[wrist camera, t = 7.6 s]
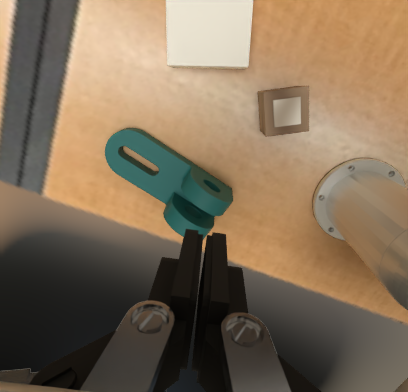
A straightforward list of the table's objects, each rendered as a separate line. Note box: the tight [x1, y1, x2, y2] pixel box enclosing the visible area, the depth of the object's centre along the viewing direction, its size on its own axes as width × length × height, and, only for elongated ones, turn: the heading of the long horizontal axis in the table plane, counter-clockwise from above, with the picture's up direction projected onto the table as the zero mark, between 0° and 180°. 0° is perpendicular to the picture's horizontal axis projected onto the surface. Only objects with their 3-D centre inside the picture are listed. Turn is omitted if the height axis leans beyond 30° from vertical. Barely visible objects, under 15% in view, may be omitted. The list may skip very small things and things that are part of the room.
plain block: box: [166, 0, 253, 69], centre depth 32 cm, size 9×9×5 cm
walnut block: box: [258, 86, 309, 137], centre depth 35 cm, size 5×5×5 cm
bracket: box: [105, 128, 233, 239], centre depth 37 cm, size 18×7×8 cm, turn 56°
